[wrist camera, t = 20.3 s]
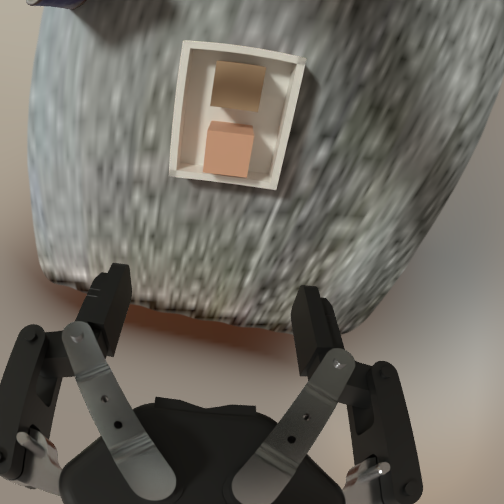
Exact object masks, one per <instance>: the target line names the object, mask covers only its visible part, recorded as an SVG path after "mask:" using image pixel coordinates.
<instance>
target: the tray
mask: <svg viewBox="0 0 504 504" xmlns="http://www.w3.org/2000/svg"><path fill="white" fill-rule="evenodd" d="M306 59H307V58H303V57H298V56H294V55H290V54H285V53H280V52H275V51H270V50H264V49H258V48H252V47H245V46H238V45H230V44H222V43H212V42H200V41H185V40H183V45H182V52H181V59H180V65H179V73H178V80H177V88H176V97H175V106H174V116H173V126H172V137H171V150H170V165H169V177H179V178H188V179H197V180H206V181H214V182H222V183H230V184H238V185H245V186H252V187H259V188H266V189H272V190H276V189H277V185H278V181H279V176H280V172H281V168H282V163H283V159H284V155H285V151H286V146H287V142H288V138H289V133H290V129H291V125H292V120H293V116H294V112H295V107H296V103H297V99H298V94H299V90H300V86H301V81H302V77H303V72H304V68H305V63H306ZM218 60H223V61H231V62H239V63H247V64H253V65H260V66H264V67H266V72H265V78H264V83H263V88H262V93H261V99H260V104H259V109H258V112H253V111H246V110H239V109H231V108H223V107H214V106H210V103H211V95H212V88H213V82H214V75H215V68H216V62H217V61H218ZM211 121H221V122H230V123H238V124H245V125H252V126H253V132H254V140H253V146H252V151H251V157H250V163H249V168H248V174H247V178H246V177H238V176H230V175H221V174H212V173H203V165H204V156H205V147H206V138H207V130H208V128H209V125H210V123H211Z"/></svg>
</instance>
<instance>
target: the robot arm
mask: <svg viewBox="0 0 504 504" xmlns="http://www.w3.org/2000/svg"><path fill="white" fill-rule="evenodd" d="M131 297H132V285H131V277H130V268H129V265H126V264H119V263H113V264H112V265H111V267H110V269H109V271H108V273H103V272H101V273H100V274H99V275H98V276H97V277H96V278H95V279H94V281H93V283H92V285H91V287H90V289H89V291H88V293H87V296H86V298H85V300H84V302H83V304H82V307H81V309H80V311H79V313H78V316H77V318H76V320H75V322H72V323H70V324H68V325H67V326H66V327H65V328H64V330H62V331H57V332H44V330H43V328H42V327H40V326H39V325H34V324H33V325H28V326H26V327H24V328H23V329H22V330H21V332H20V333H19V335H18V337H17V340H16V342H15V345H14V348H13V350H12V353H11V355H10V358H9V361H8V363H7V366H6V369H5V372H4V374H3V378H2V380H1V383H0V476H2V477H3V478H5V479H6V480H9V481H11V482H13V483H15V484H18V485H20V486H25V487H27V488H30V489H40V490H43V491H46V492H49V493H52V494H55V495H58V496H61V498H62V501H63V503H64V504H414V503H415V502H417V501H418V500H419V498H420V497H421V495H422V492H423V484H422V478H421V472H420V466H419V461H418V456H417V450H416V446H415V441H414V437H413V431H412V427H411V423H410V418H409V414H408V410H407V407H406V402H405V399H404V394H403V391H402V387H401V383H400V380H399V376H398V373H397V370H396V369H395V367H394V366H393V365H392V364H390V363H388V362H385V361H378V362H376V363H375V364H374V365H373V366H370V365H366V364H362V363H359V362H356V361H355V360H354V358H353V356H352V355H351V354H350V353H349V352H347V351H345V349H344V346H343V342H342V338H341V335H340V331H339V328H338V324H337V321H336V317H335V314H334V310H333V307H332V305H331V304H330V303H329V301H328V300H327V299H326V298H320V294H319V290H318V288H317V287H316V286H306V285H301V286H300V288H299V291H298V293H297V296H296V299H295V301H294V304H293V306H292V310H291V322H292V328H293V334H294V341H295V347H296V353H297V360H298V367H299V373H300V376H308V383H307V384H306V385H305V387H304V388H303V390H302V391H301V393H300V394H299V395H298V397H297V398H296V400H295V401H294V402H293V404H292V405H291V407H290V408H289V409H288V411H287V412H286V414H285V415H284V416H283V417H282V419H281V420H280V421H279V423H277V422H276V421H274V420H273V419H271V418H270V417H268V416H266V415H263V414H261V413H258V412H256V406H247V405H227V406H221V407H214V408H202V407H199V406H195V405H193V404H190V403H187V402H184V401H181V400H176V399H168V398H161V397H156V398H155V403H149V404H144V405H141V406H139V407H137V408H134V409H133V410H132V408H131V406H130V404H129V403H128V401H127V399H126V397H125V395H124V394H123V392H122V390H121V388H120V386H119V384H118V382H117V380H116V378H115V376H114V375H113V373H112V371H111V369H110V367H109V365H108V364H107V362H106V360H105V359H106V356H111V357H114V354H115V350H116V347H117V343H118V340H119V337H120V333H121V330H122V327H123V323H124V320H125V317H126V314H127V311H128V307H129V305H130V301H131ZM72 376H76V377H75V379H76V382H77V384H78V387H79V389H80V392H81V394H82V396H83V398H84V401H85V403H86V405H87V407H88V409H89V412H90V414H91V416H92V418H93V420H94V422H95V424H96V426H97V428H98V430H99V432H100V434H101V436H100V437H99V438H98V439H97V440H95V441H94V442H93V443H92V444H91V445H89V446H88V447H87V448H86V449H84V450H83V451H82V452H81V453H80V454H78V455H77V456H76V457H75V458H73V459H72V460H71V461H70V462H68V463H67V464H66V465H65V467H64V468H63V469H61V467H60V465H59V463H58V454H57V449H56V447H55V446H54V444H53V443H52V442H51V441H50V440H49V437H50V431H51V426H52V421H53V416H54V411H55V407H56V402H57V398H58V394H59V390H60V386H61V382H62V378H63V377H72ZM338 402H339V403H343V404H346V405H347V410H348V417H349V424H350V432H351V439H352V447H353V455H354V464H355V466H354V467H352V468H351V469H350V470H349V471H348V473H347V476H346V484H345V487H344V488H343V490H342V489H341V488H340V487H339V486H338V484H337V483H335V481H334V480H333V479H332V478H330V477H329V476H328V475H327V474H326V473H325V472H324V471H323V470H322V469H321V468H320V467H319V466H318V465H317V464H316V463H315V462H314V461H313V460H312V459H311V458H310V457H309V456H308V455H307V453H308V451H309V450H310V448H311V446H312V445H313V443H314V442H315V440H316V439H317V437H318V436H319V434H320V432H321V431H322V429H323V428H324V426H325V424H326V422H327V421H328V419H329V417H330V416H331V414H332V412H333V410H334V409H335V407H336V405H337V403H338Z"/></svg>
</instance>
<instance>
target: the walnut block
mask: <svg viewBox="0 0 504 504" xmlns="http://www.w3.org/2000/svg"><path fill="white" fill-rule="evenodd" d="M265 72H266V67H264V66H260V65H253V64H247V63H239V62H231V61H223V60H218V61H217V62H216V68H215V75H214V82H213V88H212V95H211V103H210V106H214V107H223V108H231V109H239V110H246V111H253V112H258V109H259V104H260V99H261V93H262V88H263V83H264V78H265Z"/></svg>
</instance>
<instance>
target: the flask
mask: <svg viewBox="0 0 504 504" xmlns="http://www.w3.org/2000/svg"><path fill="white" fill-rule="evenodd" d="M85 1H86V0H26V2H27V4H28V5H30V6H51V7H59V8H65V9H75V8H77V7H79V6H81V5H83V4H84V3H85Z"/></svg>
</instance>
